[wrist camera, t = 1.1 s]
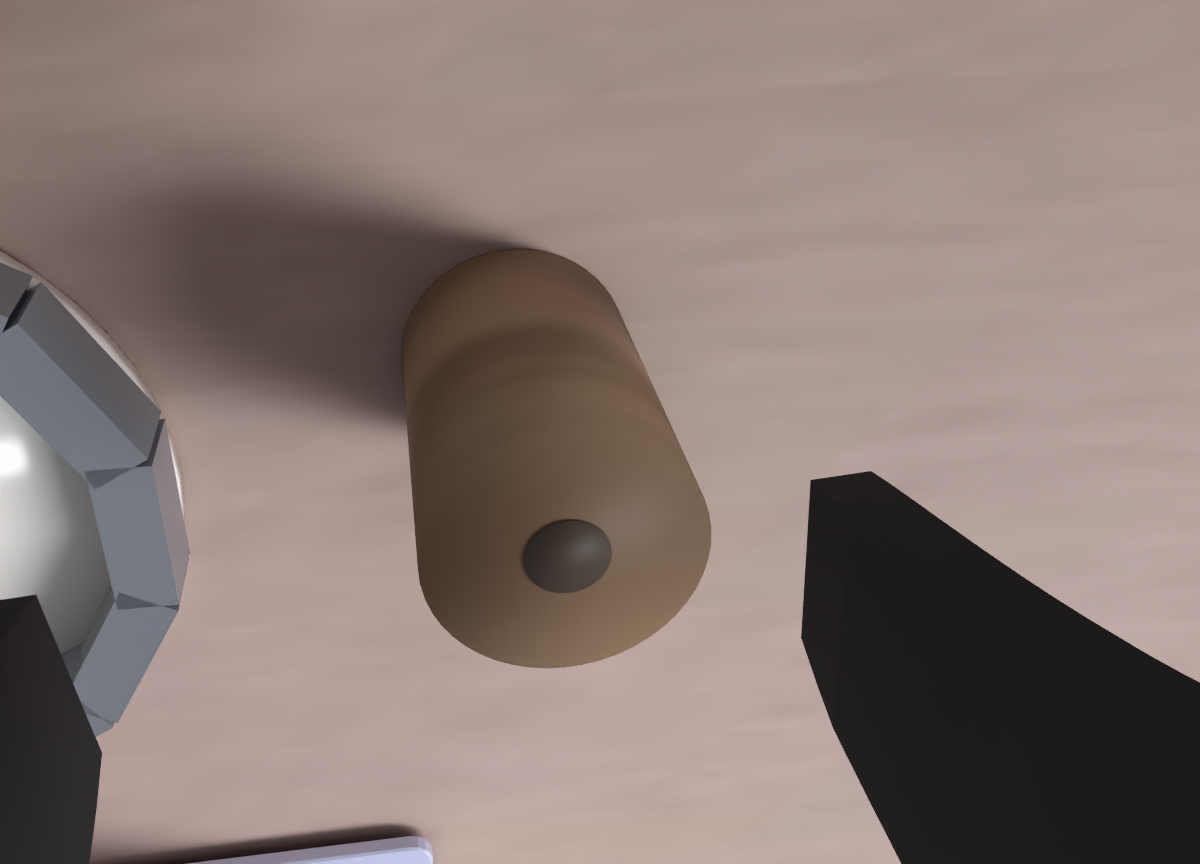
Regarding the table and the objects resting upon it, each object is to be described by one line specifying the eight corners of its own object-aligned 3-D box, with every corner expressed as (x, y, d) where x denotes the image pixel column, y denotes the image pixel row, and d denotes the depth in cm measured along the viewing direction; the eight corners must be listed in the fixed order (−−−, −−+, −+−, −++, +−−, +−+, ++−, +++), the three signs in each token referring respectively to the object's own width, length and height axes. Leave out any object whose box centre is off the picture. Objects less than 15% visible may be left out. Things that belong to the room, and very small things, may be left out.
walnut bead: (619, 441, 22) (700, 656, 17) (408, 455, 21) (424, 683, 16) (630, 244, 20) (725, 421, 15) (395, 253, 19) (409, 440, 14)
